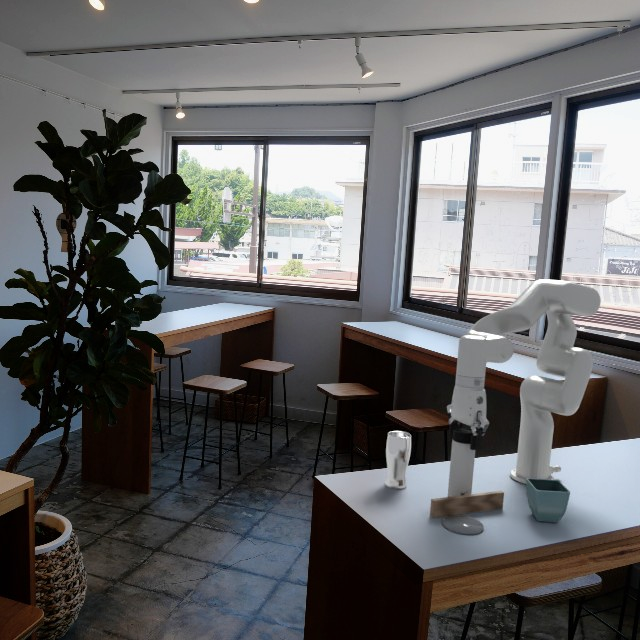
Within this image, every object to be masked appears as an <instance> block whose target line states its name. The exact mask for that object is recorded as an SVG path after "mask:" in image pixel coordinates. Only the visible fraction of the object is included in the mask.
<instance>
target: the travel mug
mask: <svg viewBox="0 0 640 640" xmlns="http://www.w3.org/2000/svg"><path fill="white" fill-rule="evenodd" d="M471 435H473V432H472V429H471V428H467V427H462V428H461V427H460V429H456V430H454V431H453V439H451V440H452V442H451V452H450V463H449V476H448V477H449V478H448V484H447V485H448V487H447V497H453V496H461V495H470V494H473V493H472V491H473V490H472V489H473V478H474V471H475V470H474V467H475V457H476V450H471V449H470V444H471Z"/></svg>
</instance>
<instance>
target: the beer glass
mask: <svg viewBox="0 0 640 640" xmlns="http://www.w3.org/2000/svg"><path fill="white" fill-rule="evenodd" d="M411 452H412V435H411V434H410V433H409V432H407V431H402V430H393V431H389V432H387V439H386V448H385V458H386V468H387V471H386V472H387V473H386V474H387V475H386V477H385V478H386V479H385V482H384V484H385V486H386V487H387V488H389V489H394V490H403V489H405V488H407V477H406V475H407V469H408V465H409V461H410V457H411Z"/></svg>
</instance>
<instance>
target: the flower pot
mask: <svg viewBox="0 0 640 640" xmlns="http://www.w3.org/2000/svg"><path fill="white" fill-rule="evenodd" d="M525 486H526V487H525V488H526V491H525V492H526V498H527V503H528V507H529V510H530V511H531V514H532V515H533V517H535V519H536V521H538V522H550V523H558V522H559V521H560V520H561V519H562V518H563V517H564V516H565V513H566V511H567V508H568V504H569V500H570V497H571V491H570V490H569V489H568V488H567V487H566V486H565V485H564V484H563V483H562V481H560V480H557V479H554V480H547V479H531V478H526V485H525Z"/></svg>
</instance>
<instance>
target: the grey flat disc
mask: <svg viewBox="0 0 640 640" xmlns="http://www.w3.org/2000/svg"><path fill="white" fill-rule="evenodd" d="M441 522H442V526H443V527H444V528H445V529H446V530H448V531H451V532H452V533H455V534H459V535H467V536H473V535H474V536H475V535H480V534H481V533H482V532H484V530H485V529H484V527H485V526H484V524H483V523H482V522H481V521H480V520H478V519H477V518H474V517H471V516H467V515H463V514H459V515H451V516H444V517H443V518H442V521H441Z"/></svg>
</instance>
